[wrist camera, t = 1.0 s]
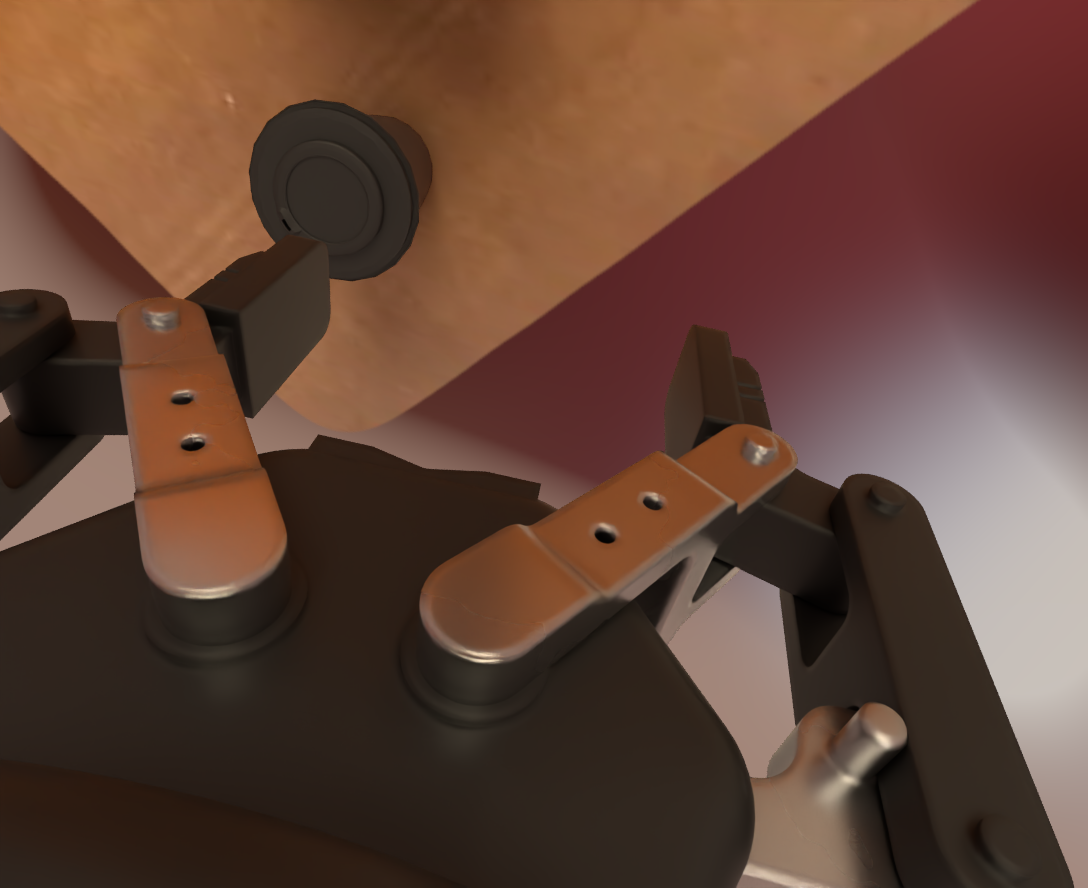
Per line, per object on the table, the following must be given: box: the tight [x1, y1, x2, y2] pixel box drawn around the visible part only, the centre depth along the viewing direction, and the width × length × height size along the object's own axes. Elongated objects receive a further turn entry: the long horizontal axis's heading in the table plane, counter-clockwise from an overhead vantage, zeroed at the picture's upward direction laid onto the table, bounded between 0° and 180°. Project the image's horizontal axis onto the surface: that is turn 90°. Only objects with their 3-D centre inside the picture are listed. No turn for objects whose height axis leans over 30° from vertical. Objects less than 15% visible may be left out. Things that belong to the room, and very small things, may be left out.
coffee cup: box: [249, 100, 432, 281], centre depth 34 cm, size 8×8×10 cm
